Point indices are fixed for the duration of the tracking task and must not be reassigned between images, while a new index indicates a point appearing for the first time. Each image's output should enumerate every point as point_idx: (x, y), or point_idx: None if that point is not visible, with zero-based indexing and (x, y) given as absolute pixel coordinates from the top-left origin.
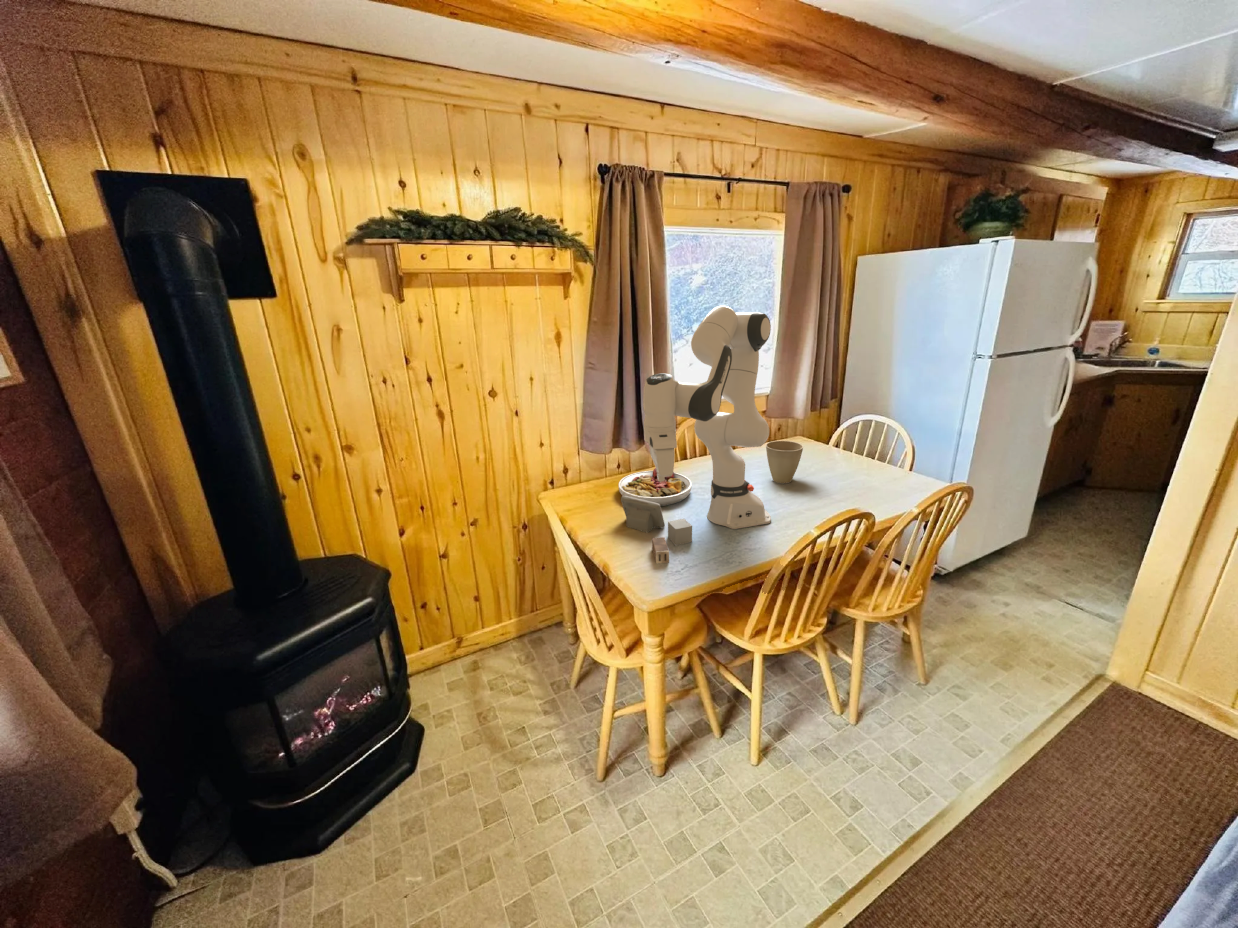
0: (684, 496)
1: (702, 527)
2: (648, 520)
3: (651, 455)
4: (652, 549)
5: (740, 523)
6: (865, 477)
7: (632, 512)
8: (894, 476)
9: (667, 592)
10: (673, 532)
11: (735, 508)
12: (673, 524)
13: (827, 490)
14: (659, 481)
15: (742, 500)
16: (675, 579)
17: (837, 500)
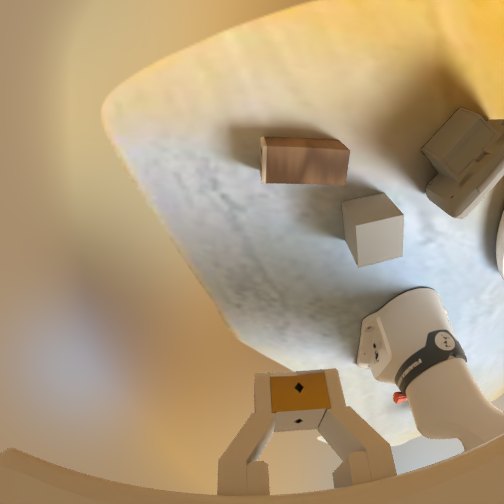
0: (498, 267)
1: (395, 272)
2: (441, 165)
3: (490, 467)
4: (335, 140)
5: (369, 334)
6: (403, 431)
7: (482, 134)
8: (389, 443)
9: (127, 151)
10: (363, 214)
11: (385, 351)
12: (383, 225)
13: (400, 412)
14: (255, 373)
15: (390, 371)
16: (179, 174)
17: (373, 417)
